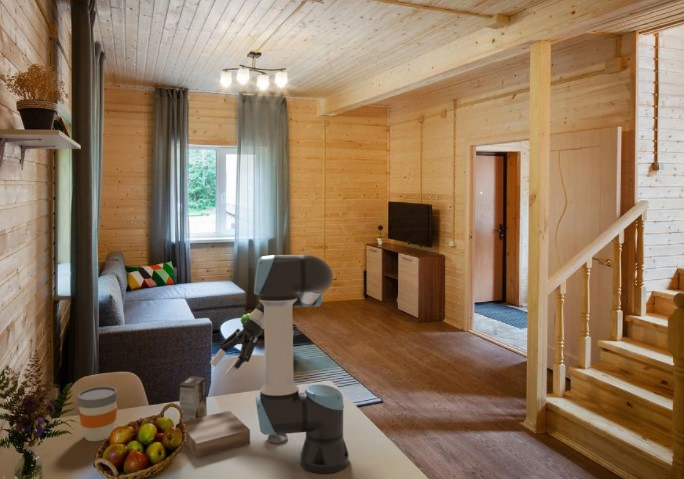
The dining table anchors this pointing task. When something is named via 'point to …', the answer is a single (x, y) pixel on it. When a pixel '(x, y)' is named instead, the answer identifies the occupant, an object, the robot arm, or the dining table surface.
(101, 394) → the reusable coffee cup
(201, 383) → the coffee box
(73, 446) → the dining table surface
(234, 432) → the walnut plinth
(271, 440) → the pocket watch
